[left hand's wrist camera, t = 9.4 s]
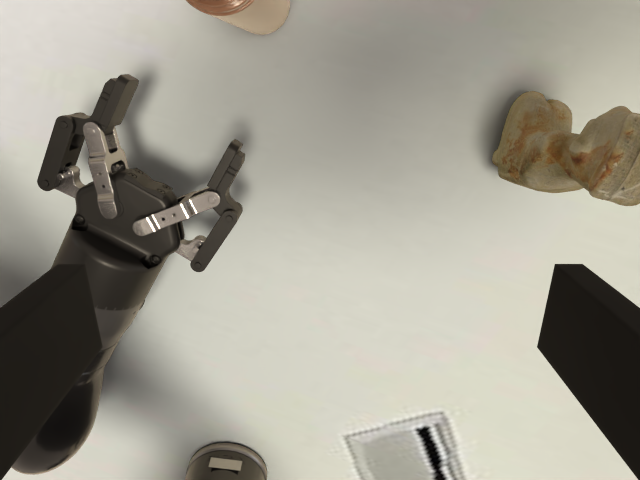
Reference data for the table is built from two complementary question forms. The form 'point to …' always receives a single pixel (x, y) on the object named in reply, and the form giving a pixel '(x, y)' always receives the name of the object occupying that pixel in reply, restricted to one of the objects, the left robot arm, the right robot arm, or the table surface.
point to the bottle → (247, 13)
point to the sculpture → (570, 150)
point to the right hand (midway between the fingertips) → (184, 110)
